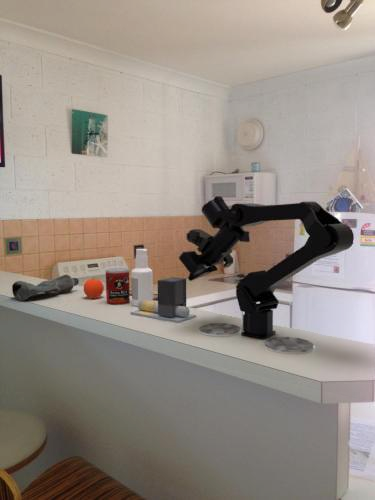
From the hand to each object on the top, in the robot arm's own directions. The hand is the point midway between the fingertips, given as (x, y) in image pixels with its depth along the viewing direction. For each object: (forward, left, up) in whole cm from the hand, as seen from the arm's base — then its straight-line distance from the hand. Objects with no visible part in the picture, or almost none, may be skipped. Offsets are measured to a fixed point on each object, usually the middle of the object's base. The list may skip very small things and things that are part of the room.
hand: (189, 279), depth 128 cm
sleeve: (+6, 0, -11) cm, 13 cm away
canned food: (+34, -6, -12) cm, 36 cm away
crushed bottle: (+63, 0, -12) cm, 64 cm away
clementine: (+46, -7, -12) cm, 48 cm away
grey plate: (+10, 0, -11) cm, 15 cm away
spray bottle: (+25, -8, -12) cm, 29 cm away
